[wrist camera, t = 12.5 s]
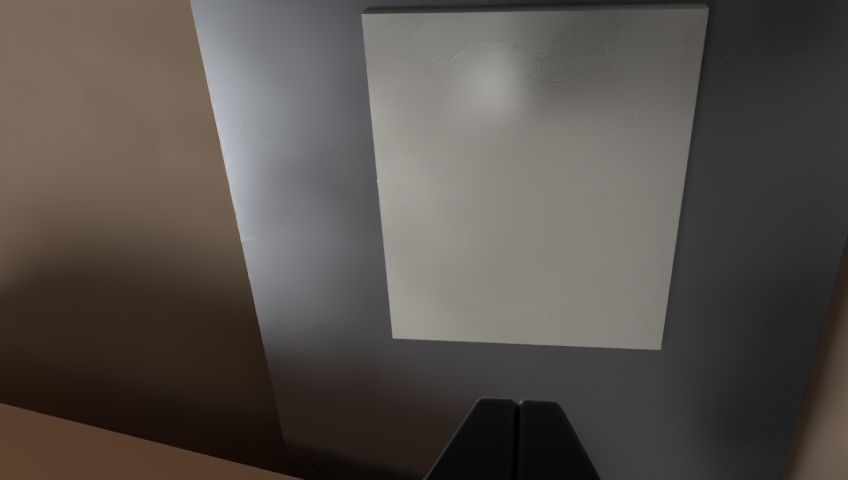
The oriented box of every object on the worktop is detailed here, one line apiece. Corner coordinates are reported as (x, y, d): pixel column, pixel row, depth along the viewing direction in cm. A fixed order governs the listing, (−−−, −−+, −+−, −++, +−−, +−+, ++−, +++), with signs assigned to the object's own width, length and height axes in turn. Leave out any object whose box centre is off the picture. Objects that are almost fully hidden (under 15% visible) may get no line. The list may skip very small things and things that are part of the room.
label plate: (926, -176, 10) (965, -167, 9) (752, 498, 17) (764, 541, 16) (189, -143, 11) (158, -132, 10) (307, 467, 18) (295, 506, 17)
